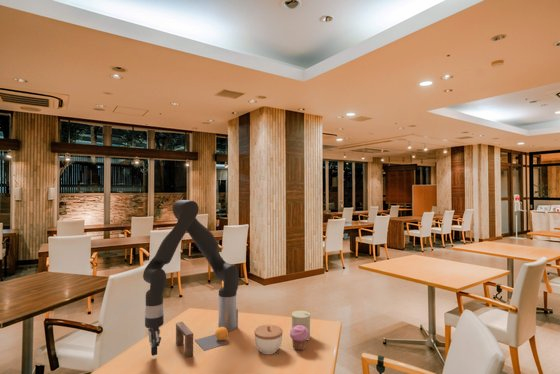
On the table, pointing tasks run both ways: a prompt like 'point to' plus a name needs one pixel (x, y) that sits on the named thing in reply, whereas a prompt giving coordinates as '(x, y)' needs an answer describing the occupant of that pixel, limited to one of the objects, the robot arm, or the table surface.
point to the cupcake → (299, 336)
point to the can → (301, 319)
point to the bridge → (185, 331)
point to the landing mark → (210, 342)
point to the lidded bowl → (268, 338)
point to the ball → (221, 333)
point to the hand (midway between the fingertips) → (154, 354)
